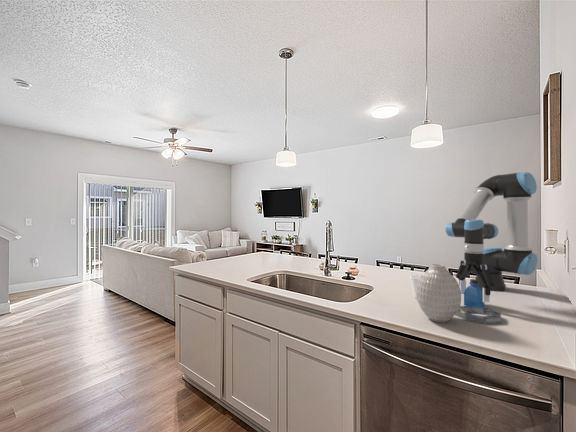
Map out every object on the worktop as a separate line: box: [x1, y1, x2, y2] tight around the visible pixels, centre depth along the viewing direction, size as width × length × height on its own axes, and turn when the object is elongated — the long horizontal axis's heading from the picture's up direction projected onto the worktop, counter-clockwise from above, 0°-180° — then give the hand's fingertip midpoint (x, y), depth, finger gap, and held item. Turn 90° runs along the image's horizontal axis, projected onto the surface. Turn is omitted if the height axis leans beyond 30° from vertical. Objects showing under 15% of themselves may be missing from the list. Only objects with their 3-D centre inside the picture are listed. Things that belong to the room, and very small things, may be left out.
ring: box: [454, 305, 502, 325], centre depth 117 cm, size 16×16×3 cm
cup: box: [409, 274, 423, 300], centre depth 142 cm, size 10×10×11 cm
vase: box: [416, 263, 462, 323], centre depth 114 cm, size 16×16×22 cm
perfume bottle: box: [463, 278, 485, 308], centre depth 131 cm, size 6×6×12 cm
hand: (473, 297), depth 131 cm, fingers open, 13 cm apart
